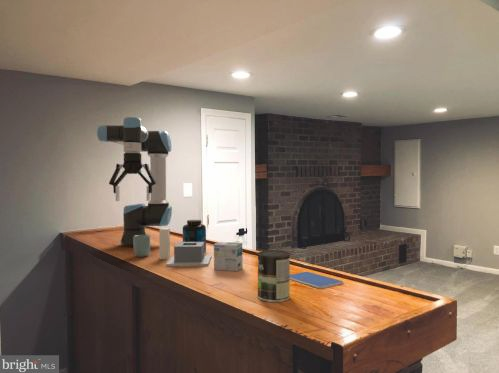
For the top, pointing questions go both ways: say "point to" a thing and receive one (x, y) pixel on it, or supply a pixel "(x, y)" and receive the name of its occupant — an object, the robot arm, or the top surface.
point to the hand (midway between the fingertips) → (132, 200)
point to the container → (194, 232)
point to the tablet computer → (315, 280)
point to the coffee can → (273, 275)
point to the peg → (164, 243)
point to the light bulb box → (228, 256)
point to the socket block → (189, 255)
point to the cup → (141, 245)
